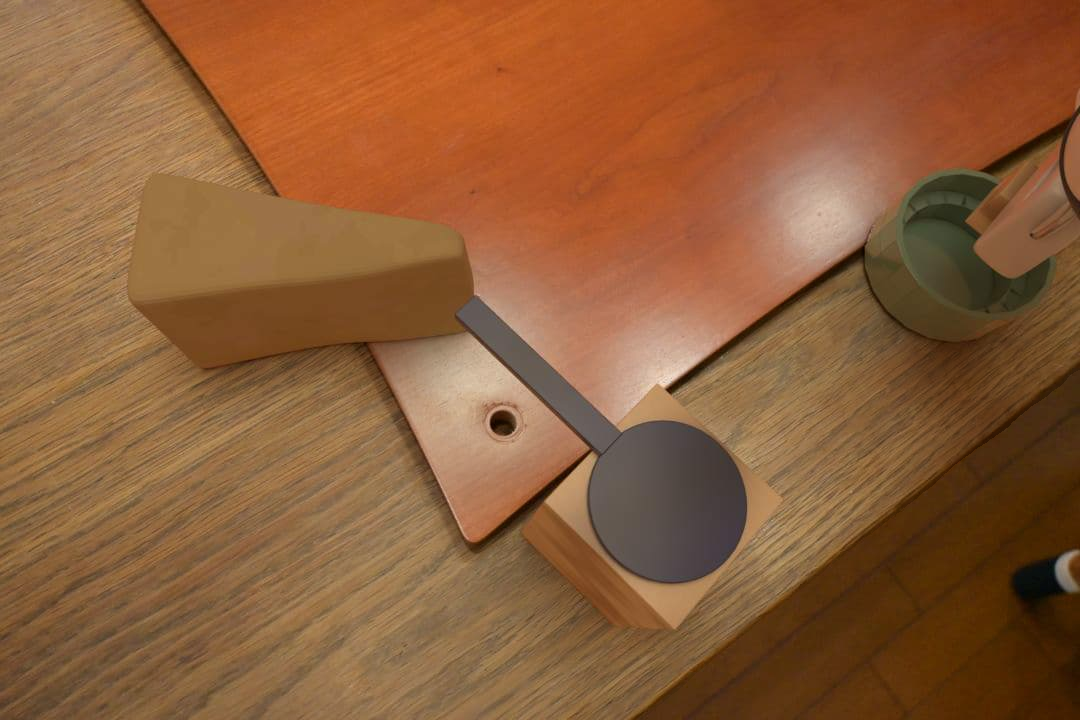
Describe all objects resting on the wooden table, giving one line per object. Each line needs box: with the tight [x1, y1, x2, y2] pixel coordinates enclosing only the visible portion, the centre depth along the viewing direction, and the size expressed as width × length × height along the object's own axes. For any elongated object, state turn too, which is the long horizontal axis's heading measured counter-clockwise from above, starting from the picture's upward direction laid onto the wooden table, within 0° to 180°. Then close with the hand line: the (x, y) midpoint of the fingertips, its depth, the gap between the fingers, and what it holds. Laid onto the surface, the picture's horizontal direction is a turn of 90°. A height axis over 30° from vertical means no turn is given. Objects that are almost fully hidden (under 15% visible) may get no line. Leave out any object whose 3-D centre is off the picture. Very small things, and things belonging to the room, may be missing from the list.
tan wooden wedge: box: [126, 172, 475, 369], centre depth 58 cm, size 22×10×15 cm, turn 91°
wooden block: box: [965, 159, 1040, 235], centre depth 61 cm, size 4×4×4 cm
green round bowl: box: [864, 167, 1058, 343], centre depth 69 cm, size 14×14×6 cm
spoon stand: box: [455, 294, 785, 631], centre depth 54 cm, size 21×10×19 cm, turn 47°
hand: (1012, 215), depth 62 cm, fingers closed on wooden block, 4 cm apart
